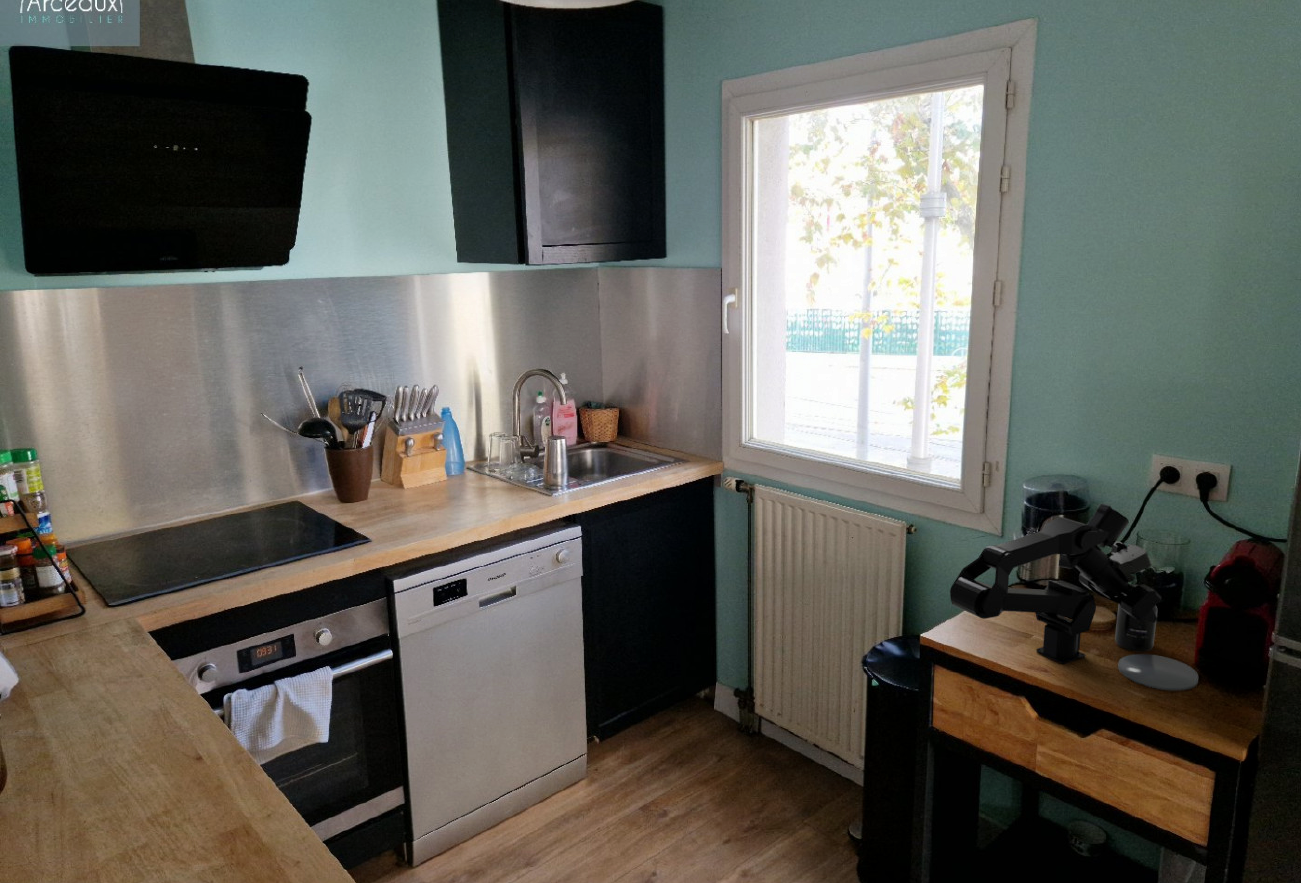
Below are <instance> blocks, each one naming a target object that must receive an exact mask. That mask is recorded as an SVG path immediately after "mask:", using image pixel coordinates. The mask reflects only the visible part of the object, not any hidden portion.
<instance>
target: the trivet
mask: <svg viewBox="0 0 1301 883" xmlns="http://www.w3.org/2000/svg"><path fill="white" fill-rule="evenodd" d="M1117 668H1118V671H1119V673H1120V672H1121V673H1122V674H1123V675H1124V677H1125V676H1126V677H1127V678H1126V677H1125V678H1126V679H1128V678H1129V679H1130V680H1129V679H1128V680H1129V681H1131V680H1132V682H1133V681H1134V683H1136V684H1139V685H1141V684H1143V685H1145V686H1144V687H1147V686H1148V687H1147V688H1151V687H1152V688H1151V689H1155V688H1156V690H1162V691H1171V692H1172V691H1173V692H1175V691H1176V692H1177V691H1186V690H1187V691H1188V690H1190V689H1194V688H1195V687H1196V686H1198V683H1199V673H1198V672H1197V671H1196V670H1195V669H1194V668H1192V667H1191V666H1189V665H1188V664H1186V663H1184V662H1182V661H1180V660H1176V659H1173V658H1170V657H1167V656H1166V657H1165V656H1162V655H1157V654H1145V653H1141V654H1140V653H1138V654H1137V653H1136V654H1129V655H1126V656H1123V657H1121V658H1120V659H1119V660H1118V667H1117ZM1121 673H1120V674H1121ZM1122 674H1121V675H1122ZM1123 675H1122V676H1123ZM1143 685H1142V686H1143Z"/></svg>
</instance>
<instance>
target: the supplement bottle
mask: <svg viewBox="0 0 1301 883" xmlns="http://www.w3.org/2000/svg"><path fill="white" fill-rule="evenodd" d="M1131 585H1132V586H1134V587H1136V586H1137V585H1138V584H1131ZM1129 591H1130V590H1129ZM1125 597H1126V596H1125ZM1123 599H1124V598H1123ZM1123 599H1122V600H1123ZM1122 600H1121V601H1122ZM1121 601H1120V602H1119V604H1118V605H1117V606H1118V607H1117V616H1116V626H1115V637H1114V640H1115V643H1116V645H1118V646H1119V647H1121V648H1122V649H1125V650H1128V651H1131V652H1132V651H1133V652H1138V653H1139V652H1140V653H1141V652H1143V653H1144V652H1149V651H1151V650H1152V649H1153V647H1154V645H1155V644H1154V642H1155V635H1156V627H1157V626H1156V625H1157V621H1156V622H1155V623H1151V622H1148V621H1145V620H1143V619H1140V620H1136V619H1135V618H1133V617H1132V616H1130V615H1129V614H1127V613H1125V612H1124V610H1123V609H1122V608H1121ZM1153 610H1154V613H1155V615H1156V617H1157V618H1158V607H1157V605H1156V606H1155V607H1154V608H1153Z"/></svg>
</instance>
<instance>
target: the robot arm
mask: <svg viewBox="0 0 1301 883" xmlns="http://www.w3.org/2000/svg"><path fill="white" fill-rule="evenodd" d="M1129 523H1130V522H1129V519H1128V518H1127V517H1126V516H1125V515H1123V514H1121V513H1120V512H1119V511H1117V510H1115V509H1113V508H1112V506H1111V505H1108V504H1105V503H1101V504H1100V505H1099V506H1098V508H1097V509H1096V511H1095V513H1094V514H1093V516H1092V517H1091V518H1090V520H1089V521H1088V522H1087V524H1086V523H1083V522H1080V521H1076V520H1074V519H1069V518H1066V517H1063V516H1058V517H1056V518H1054V519H1052V520H1050V521H1048V522H1047V523H1045V524H1044V525H1043V528H1042V530H1040V531H1037V532H1033V533H1031V534H1028V535H1025V536H1022V537H1018V538H1015V539H1013V540H1009V541H1007V542H1003V543H1000V544H997V545H988V546H985V548H984V549H983V550H982V552H981V553H980V555H979V556H978V557H977V558H976V559H975V560H973V561H972V562H970V563H968V564H967V565H965V566H964V567H963V568H962V569H961V571H960V572H959V574H958V576H957V577H956V579H955V581H954V582H953V583H952V585H951V587H950V589H949V596H950V602H951V605H953V606H954V607H956V608H958V609H961V610H963V611H964V612H967V613H969V614H971V615H973V616H976V617H977V618H979V619H984V620H987V619H990V618H997V617H999V616H1000V615H1002V613H1003V612H1013V613H1014V612H1015V613H1016V612H1017V613H1018V612H1019V613H1034V614H1035V617H1036V620H1037V621H1039V622H1041V623H1043V624H1045V625H1044V631H1043V641H1042V642H1043V646H1042V647H1039V648H1036V651H1035V652H1037V653H1039V654H1040V655H1042V656H1045V657H1047V658H1049V659H1051V660H1053V661H1055V662H1058V663H1059V664H1062V665H1065V664H1068V663H1071V662H1075V661H1078V660H1081V659H1083V658H1085V657H1086V654H1085V653H1083V652H1081V651H1080V646H1081V635H1082V633H1087V632H1089V631H1090V630H1091V626H1092V622H1093V621H1094V620H1093V619H1094V617H1095V614H1096V611H1097V604H1096V603H1095V596H1094V595H1092V594H1090V593H1089V592H1090V591H1092V592H1093V593H1094V594H1096V595H1098V596H1099V597H1102V598H1103V599H1107V600H1109V601H1112V602H1114V603H1116V604H1118V605H1119V602H1120V601H1121V600H1122V599H1123V598H1124V599H1123V600H1122V601H1121V608H1122V609H1123V610H1124V612H1125V613H1127V614H1129V615H1130V616H1132V617H1133V618H1135V619H1136V620H1140V619H1143V620H1145V621H1148V622H1151V623H1155V622H1156V623H1157V621H1158V616H1157V617H1156V615H1155V613H1154V610H1153V608H1154V607H1155V606H1156V607H1157V605H1158V603H1160V602H1161V601H1162V596H1161V595H1160V594H1159V593H1158V592H1157V591H1156V590H1155V589H1153V588H1151V587H1149V585H1146V584H1145V583H1144V584H1143V583H1142V584H1136V585H1137V586H1136V587H1134V586H1132V585H1133V584H1130V583H1132V582H1133V581H1134V580H1135V577H1134V575H1135V574H1137V573H1139V572H1141V571H1143V570H1145V569H1149V568H1151V566H1152V563H1151V559H1150V557H1149V555H1148V553H1147V550H1146V549H1143V548H1142V547H1140V546H1138V545H1137V544H1130V543H1128V544H1125V543H1123V542H1121V541H1120V540H1118V539H1119V538H1120V536H1121V535H1122V534H1123V532H1124V531H1125V529H1126V527H1128V525H1129ZM1105 547H1109V548H1111V550H1110V552H1111V556H1108V555H1107V554H1106V553H1105V552H1104V551H1103V550H1102V549H1101V548H1105ZM1053 555H1059V560H1058V566H1059V567H1060V568H1064V569H1069V570H1074V569H1077V570H1078V571H1079V572H1080V573H1079V575H1078V581H1079V582H1080V583H1081V584H1082V585H1083V586H1084V587H1086V588H1087V589H1085V588H1084V587H1083V588H1082V587H1079V585H1078V586H1077V585H1075V584H1072V583H1070V582H1067V581H1064V580H1061V579H1059V580H1057V581H1054V580H1051V579H1048V584H1047V586H1046V587H1045V588H1044V589H1040V588H1039V589H1035V588H1020V587H1009V579H1010V574H1011V572H1013V570H1014V568H1017V567H1021V566H1023V565H1027V564H1030V563H1033V562H1035V561H1039V560H1041V559H1044V558H1047V557H1051V556H1053ZM990 569H993V570H995V576H994V583H993V584H992V585H991V584H987V583H985V582H981V581H979V580H976V578H977V579H978V577H980V576H981V575H983V574H984V573H986V572H988V571H989V570H990ZM1089 590H1090V591H1089ZM1129 590H1130V591H1129ZM1125 596H1126V597H1125Z"/></svg>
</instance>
